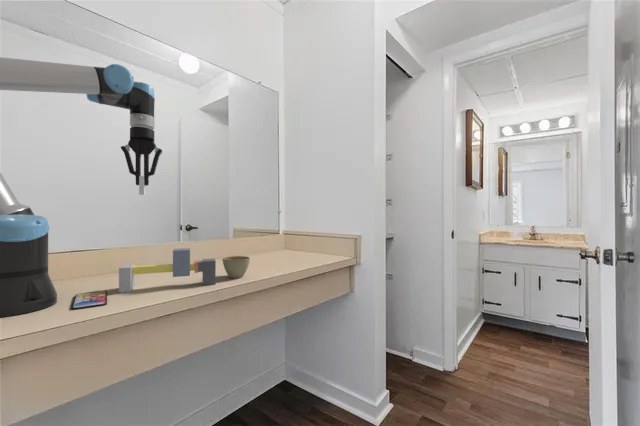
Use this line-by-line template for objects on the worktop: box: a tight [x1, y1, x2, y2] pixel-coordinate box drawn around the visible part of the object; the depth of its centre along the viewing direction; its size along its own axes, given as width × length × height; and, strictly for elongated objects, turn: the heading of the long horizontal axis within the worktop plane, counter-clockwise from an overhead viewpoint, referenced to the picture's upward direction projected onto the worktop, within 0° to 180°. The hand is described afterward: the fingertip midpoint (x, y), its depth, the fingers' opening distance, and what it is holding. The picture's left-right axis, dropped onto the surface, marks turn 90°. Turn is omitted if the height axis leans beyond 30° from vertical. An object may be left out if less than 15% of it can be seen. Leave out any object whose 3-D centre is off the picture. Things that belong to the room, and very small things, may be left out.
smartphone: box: [71, 290, 108, 311], centre depth 83 cm, size 7×1×15 cm
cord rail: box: [118, 258, 217, 294], centre depth 98 cm, size 28×7×8 cm, turn 113°
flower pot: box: [222, 255, 251, 279], centre depth 113 cm, size 10×10×7 cm
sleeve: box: [172, 247, 191, 278], centre depth 100 cm, size 5×5×8 cm
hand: (142, 194), depth 107 cm, fingers closed
